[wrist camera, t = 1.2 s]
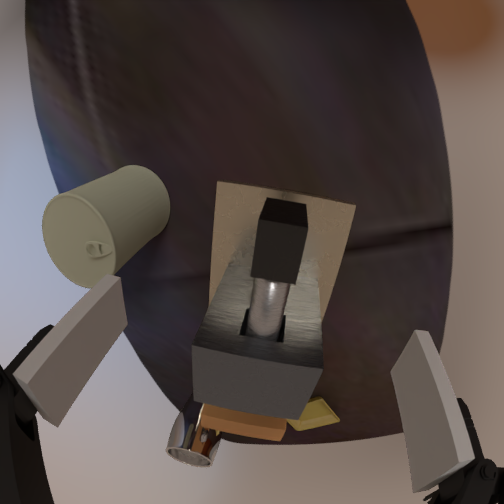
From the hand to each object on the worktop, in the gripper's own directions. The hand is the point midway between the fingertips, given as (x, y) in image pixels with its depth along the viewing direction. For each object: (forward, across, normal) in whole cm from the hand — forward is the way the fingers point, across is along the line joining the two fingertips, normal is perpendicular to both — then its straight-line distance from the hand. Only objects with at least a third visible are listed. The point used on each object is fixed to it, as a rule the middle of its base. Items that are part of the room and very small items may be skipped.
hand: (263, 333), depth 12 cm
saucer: (+20, +11, -35) cm, 42 cm away
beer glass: (+20, -6, -31) cm, 37 cm away
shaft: (+12, 0, -11) cm, 16 cm away
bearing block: (+20, 0, -12) cm, 23 cm away
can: (+20, -17, -3) cm, 26 cm away
